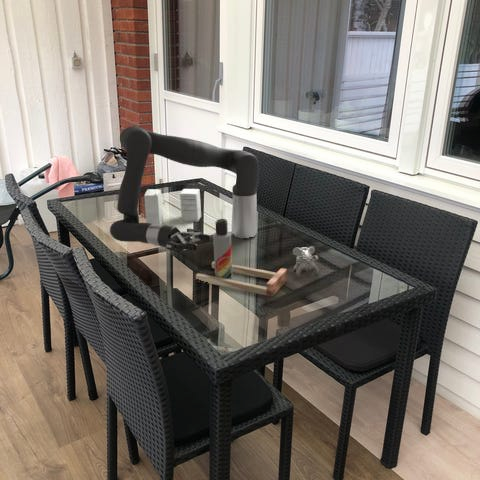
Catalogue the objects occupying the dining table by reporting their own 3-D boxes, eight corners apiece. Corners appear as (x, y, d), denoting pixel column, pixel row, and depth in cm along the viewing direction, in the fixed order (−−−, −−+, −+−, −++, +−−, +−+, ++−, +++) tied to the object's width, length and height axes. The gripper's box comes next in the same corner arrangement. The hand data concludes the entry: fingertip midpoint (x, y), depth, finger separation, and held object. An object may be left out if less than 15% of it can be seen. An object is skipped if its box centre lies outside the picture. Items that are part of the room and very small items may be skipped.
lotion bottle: (230, 281, 164) (228, 223, 156) (213, 280, 165) (210, 222, 157) (233, 273, 169) (232, 217, 161) (217, 272, 170) (214, 216, 162)
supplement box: (185, 215, 225) (183, 188, 220) (201, 216, 224) (200, 188, 219) (181, 221, 218) (179, 193, 213) (198, 222, 217) (196, 193, 212)
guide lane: (214, 266, 175) (213, 255, 173) (287, 280, 163) (287, 269, 162) (196, 280, 165) (195, 269, 163) (272, 296, 153) (272, 284, 152)
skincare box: (150, 222, 218) (146, 188, 213) (164, 221, 218) (161, 188, 213) (146, 229, 210) (143, 194, 205) (161, 228, 210) (157, 194, 205)
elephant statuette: (300, 280, 164) (301, 258, 161) (282, 264, 174) (283, 244, 171) (324, 274, 168) (326, 253, 165) (305, 259, 178) (306, 239, 174)
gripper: (149, 232, 165) (191, 239, 158) (173, 219, 177) (214, 225, 170) (151, 253, 168) (193, 261, 161) (175, 238, 180) (215, 245, 173)
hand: (203, 242), depth 166 cm, fingers open, 8 cm apart
